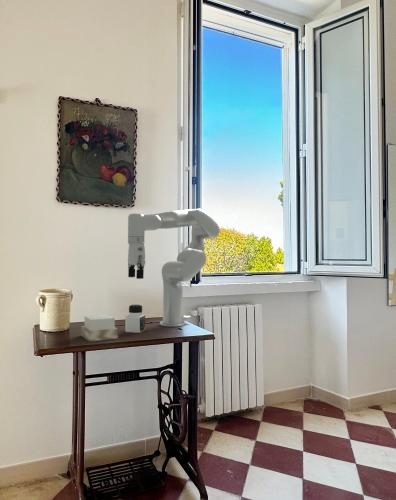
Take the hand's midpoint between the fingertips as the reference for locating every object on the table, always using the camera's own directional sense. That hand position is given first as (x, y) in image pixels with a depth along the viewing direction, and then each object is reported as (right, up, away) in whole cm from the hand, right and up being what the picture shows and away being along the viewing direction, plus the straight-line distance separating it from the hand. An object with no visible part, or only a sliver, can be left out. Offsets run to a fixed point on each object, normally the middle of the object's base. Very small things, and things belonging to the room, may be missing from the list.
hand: (135, 277), depth 177 cm
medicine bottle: (0, -25, 0) cm, 25 cm away
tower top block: (-13, -20, -13) cm, 28 cm away
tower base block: (-13, -25, -13) cm, 31 cm away
